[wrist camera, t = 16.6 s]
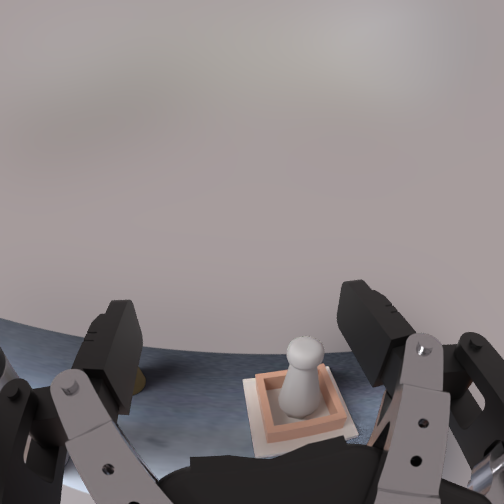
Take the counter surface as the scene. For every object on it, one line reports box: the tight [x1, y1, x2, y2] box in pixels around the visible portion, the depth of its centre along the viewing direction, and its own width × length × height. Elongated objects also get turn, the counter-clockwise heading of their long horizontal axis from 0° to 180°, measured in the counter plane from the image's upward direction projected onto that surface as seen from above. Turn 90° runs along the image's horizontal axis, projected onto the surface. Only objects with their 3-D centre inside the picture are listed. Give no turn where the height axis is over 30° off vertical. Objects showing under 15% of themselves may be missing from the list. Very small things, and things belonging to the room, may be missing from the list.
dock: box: [243, 364, 359, 458], centre depth 36 cm, size 14×14×4 cm
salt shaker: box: [278, 336, 324, 420], centre depth 33 cm, size 6×6×13 cm
